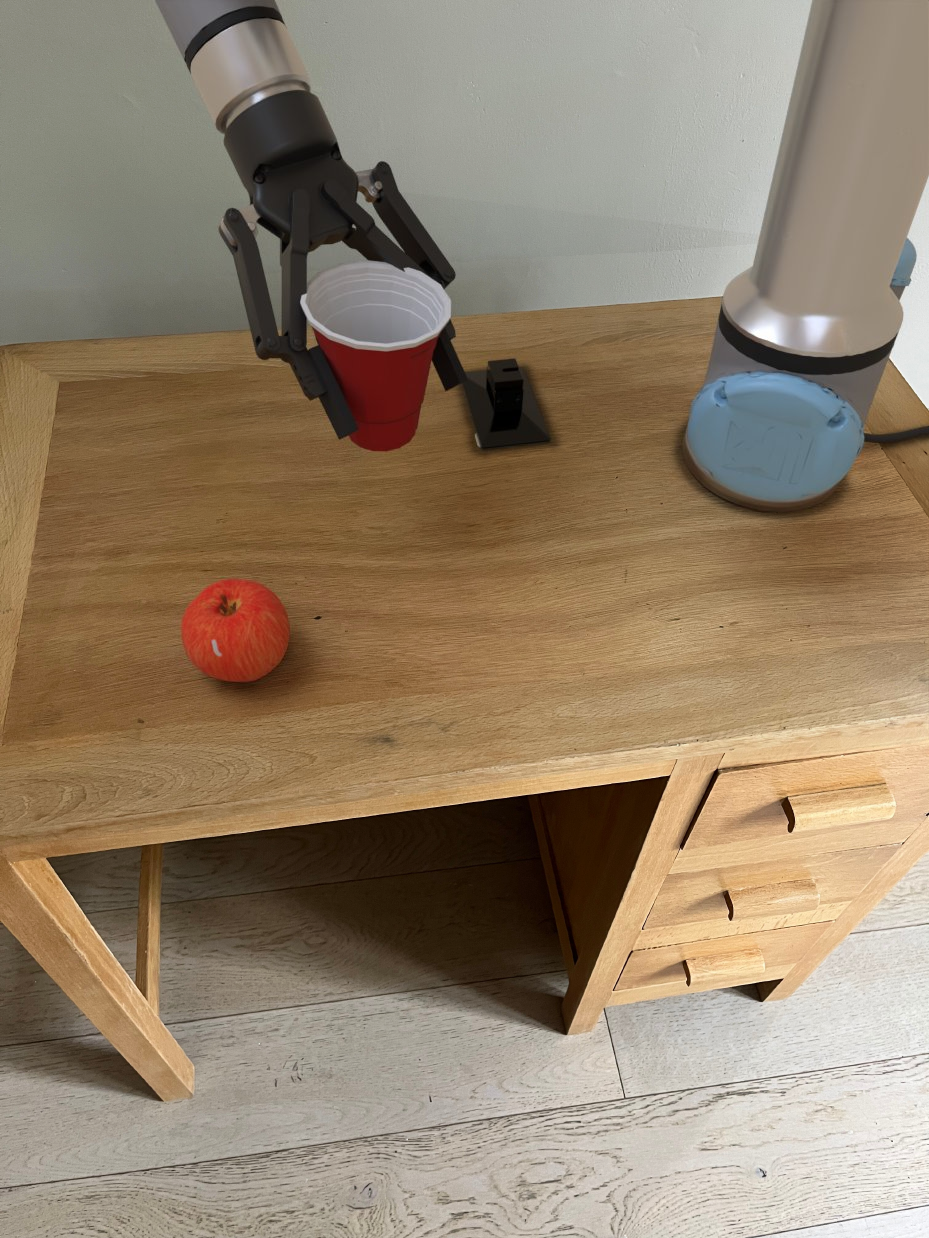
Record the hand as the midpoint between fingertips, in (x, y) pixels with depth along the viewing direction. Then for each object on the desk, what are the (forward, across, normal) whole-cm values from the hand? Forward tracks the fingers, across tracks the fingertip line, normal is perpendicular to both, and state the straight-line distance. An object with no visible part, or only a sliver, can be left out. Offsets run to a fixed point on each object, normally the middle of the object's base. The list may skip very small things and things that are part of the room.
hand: (404, 409), depth 66 cm
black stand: (+3, -18, -16) cm, 25 cm away
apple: (+12, +18, -8) cm, 23 cm away
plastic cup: (+1, 0, -5) cm, 5 cm away
